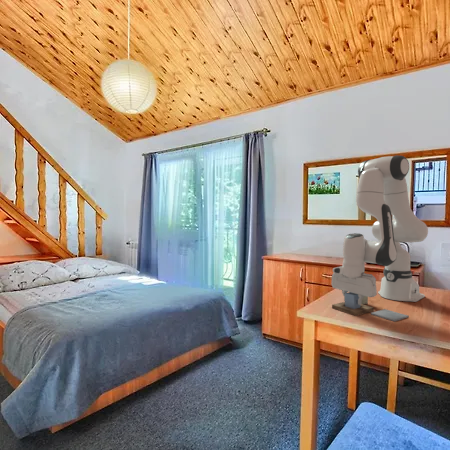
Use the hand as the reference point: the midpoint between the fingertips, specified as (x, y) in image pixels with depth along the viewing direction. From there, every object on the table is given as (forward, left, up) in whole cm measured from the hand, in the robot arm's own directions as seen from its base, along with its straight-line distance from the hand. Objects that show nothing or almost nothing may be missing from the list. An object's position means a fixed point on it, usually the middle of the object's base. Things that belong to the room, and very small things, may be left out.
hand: (352, 302), depth 135 cm
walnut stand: (0, 0, -3) cm, 3 cm away
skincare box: (-12, -5, -3) cm, 13 cm away
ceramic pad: (-6, +13, -3) cm, 15 cm away
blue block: (0, 0, -3) cm, 3 cm away
